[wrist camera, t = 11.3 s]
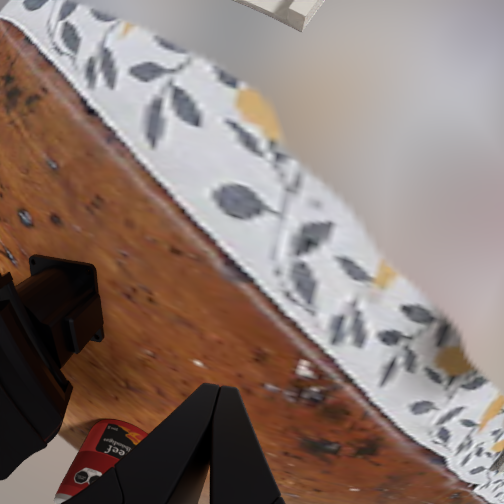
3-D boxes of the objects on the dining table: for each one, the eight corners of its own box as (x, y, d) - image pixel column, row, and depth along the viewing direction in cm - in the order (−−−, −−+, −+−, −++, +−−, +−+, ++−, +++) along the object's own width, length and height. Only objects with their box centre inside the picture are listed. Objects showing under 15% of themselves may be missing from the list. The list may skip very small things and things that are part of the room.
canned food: (176, 452, 27) (151, 540, 17) (132, 465, 29) (105, 538, 19) (120, 408, 26) (74, 497, 15) (82, 426, 27) (41, 498, 17)
